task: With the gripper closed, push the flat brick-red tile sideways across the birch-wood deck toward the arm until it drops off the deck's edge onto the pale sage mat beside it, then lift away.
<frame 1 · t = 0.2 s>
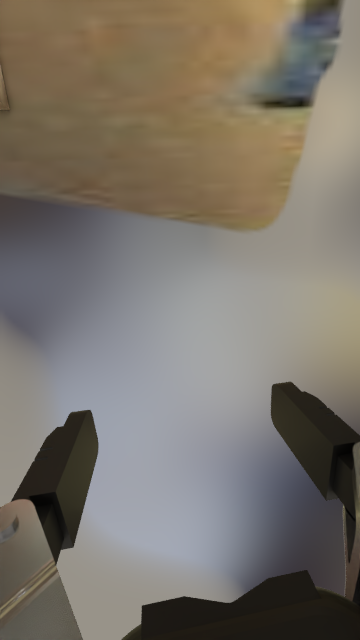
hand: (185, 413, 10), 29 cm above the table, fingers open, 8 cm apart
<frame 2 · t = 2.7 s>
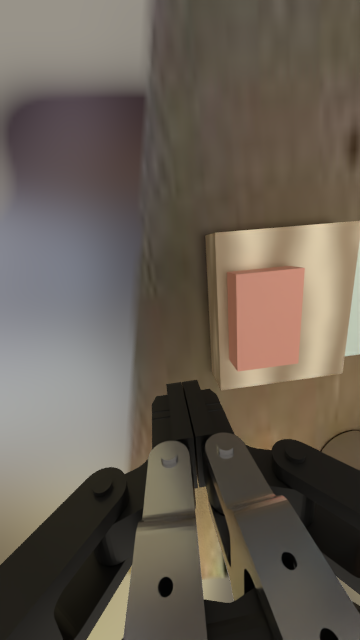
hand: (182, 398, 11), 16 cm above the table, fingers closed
tile: (263, 318, 22), point 5 cm above the table, touching deck
deck: (267, 303, 28), on the table
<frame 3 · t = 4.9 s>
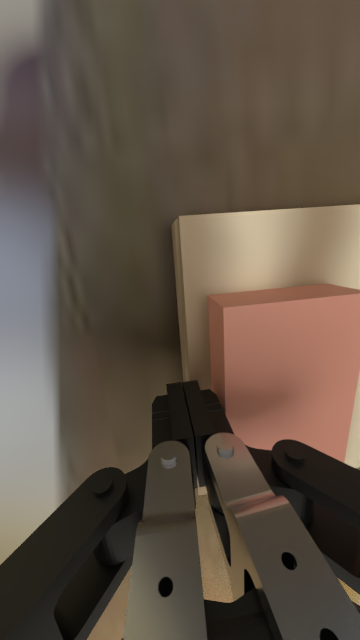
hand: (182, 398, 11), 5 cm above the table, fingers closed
tile: (277, 385, 12), point 5 cm above the table, touching deck, gripper
deck: (279, 339, 17), on the table
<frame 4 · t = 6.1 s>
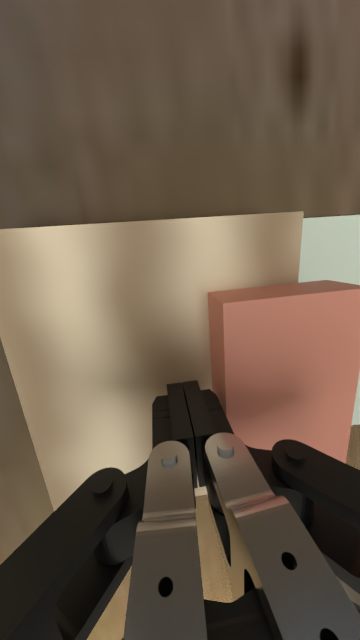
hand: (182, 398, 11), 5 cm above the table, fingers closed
tile: (278, 381, 12), point 5 cm above the table, touching deck
mat: (351, 333, 17), on the table
deck: (160, 354, 16), on the table
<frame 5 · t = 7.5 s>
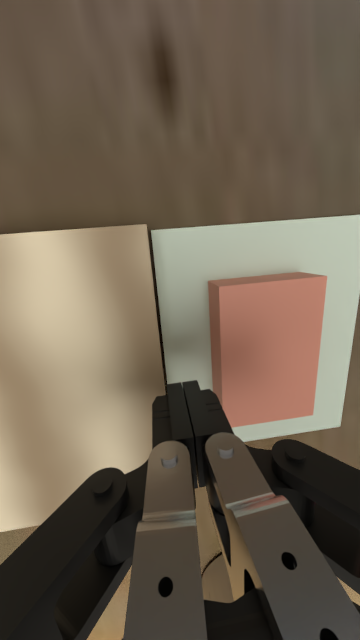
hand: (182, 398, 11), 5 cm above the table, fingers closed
tile: (261, 349, 15), point 2 cm above the table, tilted 180°, touching mat
mat: (260, 343, 17), on the table
deck: (54, 368, 16), on the table
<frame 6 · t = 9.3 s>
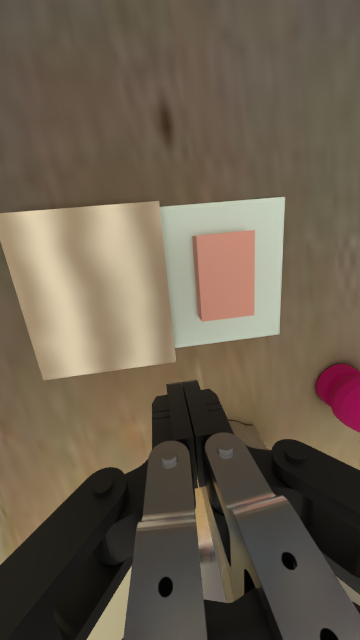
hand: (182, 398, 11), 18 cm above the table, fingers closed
tile: (223, 276, 26), point 2 cm above the table, tilted 180°, touching mat
pepper mill: (334, 381, 35), on the table
mat: (225, 277, 28), on the table
deck: (104, 290, 27), on the table
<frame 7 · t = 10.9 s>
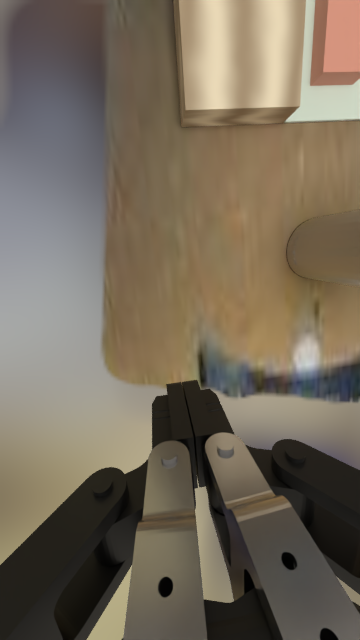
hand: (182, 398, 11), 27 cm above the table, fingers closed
tile: (342, 32, 29), point 2 cm above the table, tilted 180°, touching mat
mat: (336, 47, 31), on the table
deck: (232, 48, 30), on the table
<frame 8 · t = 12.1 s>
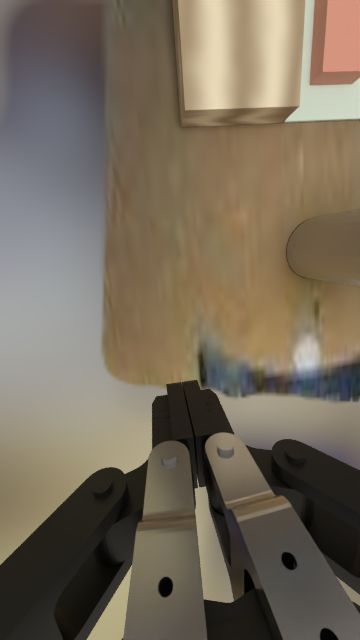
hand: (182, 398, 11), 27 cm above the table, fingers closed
tile: (341, 32, 29), point 2 cm above the table, tilted 180°, touching mat
mat: (336, 46, 31), on the table
deck: (231, 48, 29), on the table
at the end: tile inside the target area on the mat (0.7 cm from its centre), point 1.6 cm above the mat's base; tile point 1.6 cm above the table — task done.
